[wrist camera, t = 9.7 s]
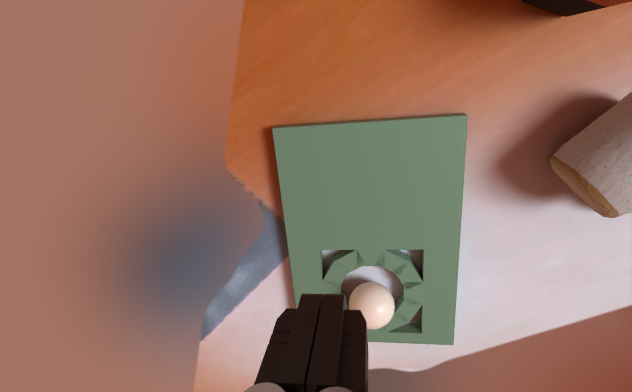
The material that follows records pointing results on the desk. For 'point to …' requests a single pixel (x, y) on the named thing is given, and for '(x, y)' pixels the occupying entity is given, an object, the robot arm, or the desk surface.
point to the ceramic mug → (601, 162)
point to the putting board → (378, 212)
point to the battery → (573, 5)
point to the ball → (373, 304)
